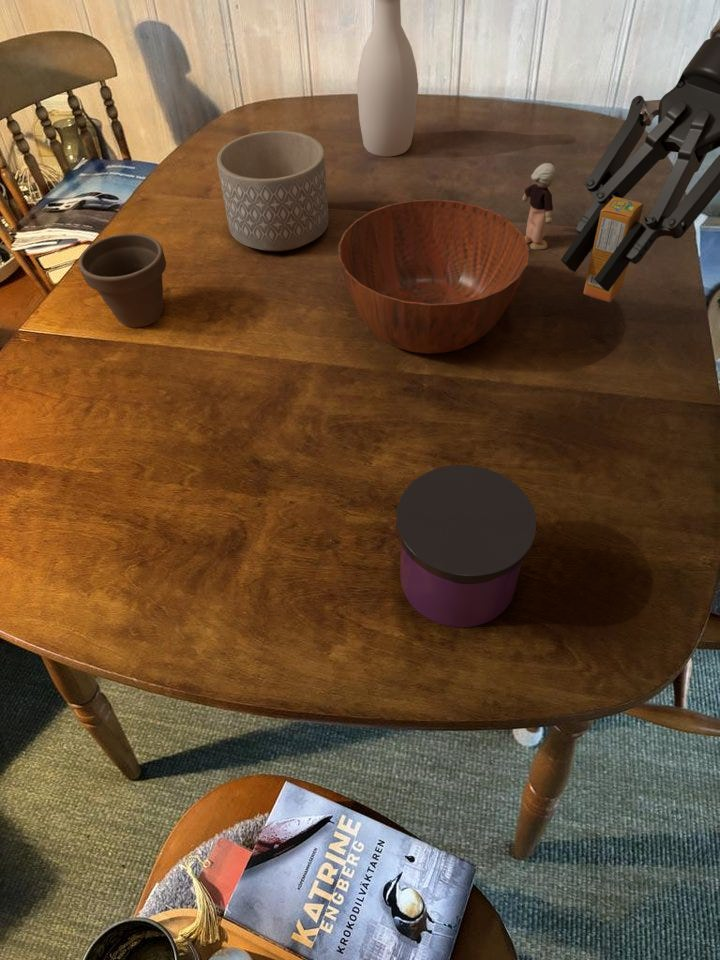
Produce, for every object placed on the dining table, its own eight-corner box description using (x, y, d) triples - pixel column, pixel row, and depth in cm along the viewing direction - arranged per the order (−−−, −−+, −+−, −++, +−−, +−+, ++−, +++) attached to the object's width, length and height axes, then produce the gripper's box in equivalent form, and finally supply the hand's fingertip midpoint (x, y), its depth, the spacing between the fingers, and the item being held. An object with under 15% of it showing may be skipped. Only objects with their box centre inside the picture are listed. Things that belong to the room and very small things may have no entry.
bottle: (402, 164, 133) (405, 7, 114) (348, 153, 136) (342, -1, 117) (425, 139, 139) (431, -15, 120) (373, 129, 143) (371, -21, 123)
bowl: (390, 399, 92) (390, 328, 84) (314, 296, 107) (308, 226, 98) (552, 343, 99) (568, 271, 90) (460, 253, 114) (466, 183, 105)
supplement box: (592, 278, 80) (615, 193, 72) (621, 289, 78) (648, 203, 71) (579, 293, 78) (601, 207, 70) (609, 304, 76) (634, 218, 69)
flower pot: (83, 320, 105) (59, 259, 97) (142, 283, 111) (124, 223, 103) (136, 349, 100) (115, 288, 92) (194, 309, 106) (179, 248, 98)
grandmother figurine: (558, 247, 114) (574, 169, 104) (540, 256, 112) (555, 177, 103) (525, 227, 118) (537, 150, 108) (507, 234, 117) (518, 157, 107)
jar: (534, 547, 77) (550, 486, 69) (501, 650, 69) (516, 595, 61) (419, 512, 80) (423, 450, 73) (376, 606, 73) (375, 549, 65)
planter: (342, 244, 116) (338, 167, 106) (243, 266, 113) (230, 189, 103) (311, 197, 126) (305, 123, 116) (220, 216, 123) (206, 141, 113)
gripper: (828, 108, 66) (660, 325, 72) (675, 57, 75) (538, 254, 81) (822, 60, 60) (640, 301, 66) (657, 10, 69) (510, 227, 75)
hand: (584, 275), depth 74 cm, fingers closed on supplement box, 4 cm apart
